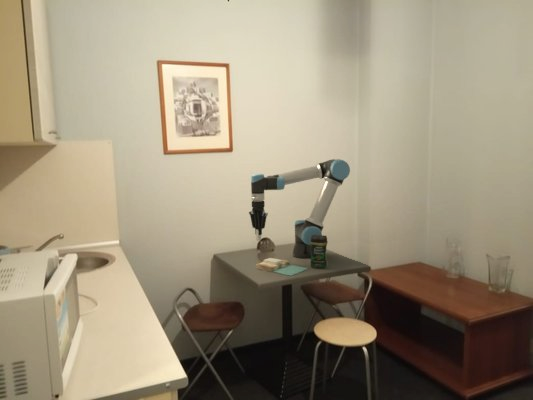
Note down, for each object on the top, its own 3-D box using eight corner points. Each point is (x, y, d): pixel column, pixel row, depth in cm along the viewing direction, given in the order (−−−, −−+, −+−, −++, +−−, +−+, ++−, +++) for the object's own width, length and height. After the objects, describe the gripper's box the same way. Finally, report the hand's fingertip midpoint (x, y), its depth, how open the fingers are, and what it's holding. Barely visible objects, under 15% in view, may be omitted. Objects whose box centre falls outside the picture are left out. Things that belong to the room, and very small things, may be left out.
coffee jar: (309, 268, 228) (309, 236, 226) (312, 264, 236) (311, 233, 234) (326, 269, 225) (326, 237, 223) (328, 265, 233) (328, 234, 231)
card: (270, 260, 238) (270, 257, 238) (282, 262, 232) (282, 260, 232) (263, 262, 234) (263, 260, 234) (275, 265, 228) (275, 262, 228)
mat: (289, 265, 235) (289, 264, 235) (307, 269, 227) (307, 268, 227) (272, 272, 223) (272, 271, 223) (290, 276, 215) (290, 275, 215)
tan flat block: (273, 262, 243) (273, 258, 243) (289, 265, 236) (289, 261, 235) (256, 268, 231) (255, 264, 231) (272, 272, 223) (272, 267, 223)
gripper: (245, 200, 237) (246, 239, 239) (262, 201, 228) (262, 242, 231) (254, 199, 242) (254, 237, 245) (270, 200, 234) (271, 240, 237)
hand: (258, 240), depth 238 cm, fingers closed
